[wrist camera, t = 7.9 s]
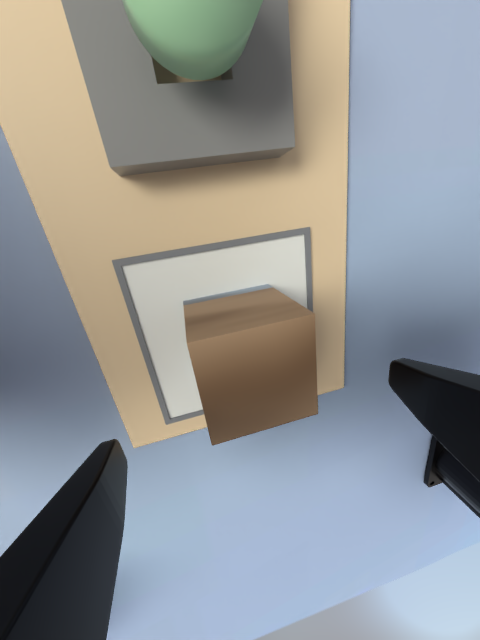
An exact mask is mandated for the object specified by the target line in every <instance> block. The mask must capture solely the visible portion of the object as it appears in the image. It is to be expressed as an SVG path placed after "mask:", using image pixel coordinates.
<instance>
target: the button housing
mask: <svg viewBox="0 0 480 640" xmlns="http://www.w3.org/2000/svg"><path fill="white" fill-rule="evenodd" d="M61 2H62V5H63V9H64V12H65V16H66V19H67V22H68V26H69V29H70V33H71V36H72V40H73V43H74V46H75V50H76V53H77V57H78V60H79V63H80V67H81V70H82V74H83V77H84V81H85V84H86V87H87V91H88V94H89V98H90V101H91V104H92V108H93V111H94V115H95V118H96V122H97V125H98V128H99V132H100V135H101V139H102V142H103V145H104V149H105V152H106V156H107V159H108V163H109V166H110V168H111V169H112V170H113V171H114V172H116V173H117V174H118V175H119V176H127V175H135V174H144V173H152V172H161V171H169V170H178V169H186V168H195V167H203V166H211V165H220V164H228V163H237V162H245V161H254V160H262V159H271V158H279V157H281V156H282V155H284V154H285V153H287V152H288V151H290V150H291V149H293V148H294V147H295V132H294V112H293V92H292V73H291V53H290V33H289V13H288V0H263V2H262V4H261V7H260V9H259V12H258V15H257V17H256V20H255V22H254V25H253V28H252V30H251V33H250V36H249V38H248V41H247V43H246V46H245V48H244V50H243V52H242V54H241V56H240V57H239V59H238V60H237V61H236V63H235V64H234V65H233V66H232V67H231V68H230V69H229V70H227V71H226V72H225V73H223V74H221V79H222V80H214V81H198V82H182V83H166V84H157V81H156V76H155V71H154V66H153V62H152V57H151V55H150V54H149V53H148V51H147V50H146V49H145V47H144V46H143V45H142V43H141V42H140V40H139V39H138V37H137V36H136V34H135V32H134V30H133V28H132V26H131V24H130V22H129V19H128V17H127V14H126V12H125V9H124V5H123V1H122V0H61Z"/></svg>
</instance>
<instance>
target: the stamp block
mask: <svg viewBox="0 0 480 640" xmlns="http://www.w3.org/2000/svg"><path fill="white" fill-rule="evenodd" d="M183 307H184V319H185V330H186V342H187V347H188V351H189V355H190V359H191V363H192V367H193V371H194V375H195V379H196V383H197V387H198V391H199V395H200V399H201V403H202V407H203V411H204V415H205V419H206V423H207V427H208V431H209V435H210V439H211V443H212V445H216V444H219V443H222V442H226V441H229V440H232V439H236V438H239V437H242V436H246V435H249V434H252V433H256V432H259V431H262V430H266V429H269V428H272V427H276V426H279V425H282V424H286V423H289V422H292V421H296V420H299V419H302V418H306V417H309V416H312V415H316V414H318V395H317V362H316V330H315V313H313V312H311V311H310V310H308V309H307V308H305V307H304V306H302V305H300V304H299V303H297V302H296V301H294V300H292V299H291V298H289V297H288V296H286V295H285V294H283V293H281V292H280V291H278V290H277V289H275V288H273V287H272V286H270V285H269V284H265V285H260V286H255V287H250V288H245V289H240V290H235V291H230V292H225V293H220V294H215V295H210V296H206V297H201V298H196V299H191V300H186V301H183Z"/></svg>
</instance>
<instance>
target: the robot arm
mask: <svg viewBox="0 0 480 640" xmlns="http://www.w3.org/2000/svg"><path fill="white" fill-rule="evenodd" d="M389 385H390V387H391V388H392V390H393V391H394V392H395V393H396V394H397V395H398V397H399V398H400V399H401V400H402V401H403V403H404V404H405V405H406V406H407V407H408V408H409V410H410V411H411V412H412V413H413V414H414V415H415V417H416V418H417V419H418V420H419V421H420V422H421V424H422V425H423V426H424V427H425V428H426V429H427V430H428V431H429V432H430V433H431V434H432V435H433V437H432V442H431V447H430V452H429V457H428V462H427V467H426V472H425V477H424V483H425V484H426V485H427V486H428V487H432V486H435V485H437V484H440V483H444V484H445V485H446V486H447V487H448V488H449V489H450V490H451V491H452V492H453V493H454V494H455V495H456V496H457V497H458V498H459V499H460V500H461V501H463V502H464V503H465V504H466V505H467V506H468V507H469V508H470V509H471V510H472V511H473V512H474V513H475V514H476V515H477V516H478V517H479V518H480V375H477V374H472V373H468V372H463V371H459V370H454V369H450V368H445V367H441V366H437V365H432V364H428V363H423V362H419V361H414V360H410V359H405V358H401V359H397V360H394V361H392V362H391V364H390V370H389ZM127 468H128V466H127V459H126V457H125V454H124V452H123V450H122V448H121V445H120V443H119V441H118V440H117V439H113V440H109V441H105V442H103V443H101V444H100V445H99V446H98V447H97V448H96V449H95V450H94V451H93V452H92V454H91V455H90V456H89V457H88V458H87V459H86V460H85V461H84V463H83V464H82V465H81V466H80V467H79V468H78V469H77V471H76V472H75V473H74V474H73V475H72V476H71V477H70V478H69V480H68V481H67V482H66V483H65V484H64V485H63V486H62V488H61V489H60V490H59V491H58V492H57V493H56V494H55V495H54V497H53V498H52V499H51V500H50V501H49V502H48V503H47V505H46V506H45V507H44V508H43V509H42V510H41V511H40V512H39V514H38V515H37V516H36V517H35V518H34V519H33V520H32V522H31V523H30V524H29V525H28V526H27V527H26V528H25V529H24V531H23V532H22V533H21V534H20V535H19V536H18V537H17V539H16V540H15V541H14V542H13V543H12V544H11V545H10V546H9V548H8V549H7V550H6V551H5V552H4V553H3V554H2V556H1V557H0V640H106V638H107V632H108V625H109V619H110V613H111V606H112V600H113V594H114V588H115V581H116V575H117V569H118V562H119V556H120V550H121V544H122V537H123V530H124V520H125V504H126V486H127Z"/></svg>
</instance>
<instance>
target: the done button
mask: <svg viewBox="0 0 480 640" xmlns="http://www.w3.org/2000/svg"><path fill="white" fill-rule="evenodd" d="M122 1H123V5H124V9H125V12H126V14H127V17H128V19H129V22H130V24H131V26H132V28H133V30H134V32H135V34H136V36H137V37H138V39H139V40H140V42H141V43H142V45H143V46H144V47H145V49H146V50H147V51H148V53H149V54H150V55H151V56H152V57H153V58H154V59H155V60H156V61H157V62H158V63H159V64H161V65H162V66H163V67H164V68H166V69H167V70H169V71H170V72H172V73H174V74H176V75H178V76H181V77H184V78H187V79H192V80H207V79H212V78H215V77H218V76H220V75H221V74H223V73H225V72H226V71H227V70H229V69H230V68H231V67H232V66H233V65H234V64H235V63H236V61H237V60H238V59H239V57H240V56H241V54H242V52H243V50H244V48H245V46H246V43H247V41H248V38H249V36H250V33H251V30H252V28H253V25H254V22H255V20H256V17H257V15H258V12H259V9H260V7H261V4H262V2H263V0H122Z"/></svg>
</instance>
